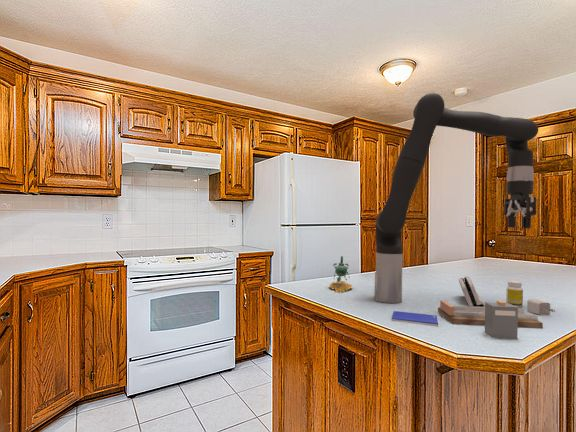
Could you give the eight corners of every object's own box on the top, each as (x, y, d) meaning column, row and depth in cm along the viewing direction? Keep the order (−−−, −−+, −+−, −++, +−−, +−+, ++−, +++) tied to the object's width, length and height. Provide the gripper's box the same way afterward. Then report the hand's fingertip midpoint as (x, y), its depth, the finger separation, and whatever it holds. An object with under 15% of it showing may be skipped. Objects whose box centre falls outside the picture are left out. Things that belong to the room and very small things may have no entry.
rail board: (452, 323, 95) (452, 308, 95) (437, 312, 107) (438, 298, 107) (542, 328, 93) (542, 312, 93) (517, 315, 105) (517, 301, 105)
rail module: (492, 337, 85) (492, 303, 85) (484, 332, 89) (485, 299, 89) (517, 339, 84) (518, 304, 84) (508, 333, 88) (509, 300, 88)
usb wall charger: (538, 311, 111) (538, 299, 111) (557, 317, 104) (557, 304, 104) (527, 311, 110) (527, 299, 110) (546, 318, 103) (546, 305, 103)
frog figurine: (354, 285, 149) (355, 252, 147) (350, 299, 131) (351, 262, 130) (333, 283, 151) (333, 251, 150) (326, 296, 134) (326, 260, 132)
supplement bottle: (525, 308, 114) (525, 283, 114) (509, 307, 115) (510, 282, 115) (518, 304, 119) (519, 280, 119) (503, 303, 120) (504, 280, 120)
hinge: (486, 308, 113) (475, 279, 115) (471, 311, 115) (460, 282, 116) (479, 297, 129) (469, 272, 130) (465, 300, 131) (456, 275, 132)
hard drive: (436, 314, 101) (393, 310, 105) (438, 322, 93) (391, 317, 98) (436, 320, 101) (393, 315, 105) (438, 328, 93) (391, 322, 98)
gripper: (497, 182, 122) (495, 227, 122) (520, 177, 108) (519, 228, 107) (519, 182, 121) (517, 227, 121) (545, 178, 107) (544, 229, 107)
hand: (518, 227), depth 114 cm, fingers open, 8 cm apart
